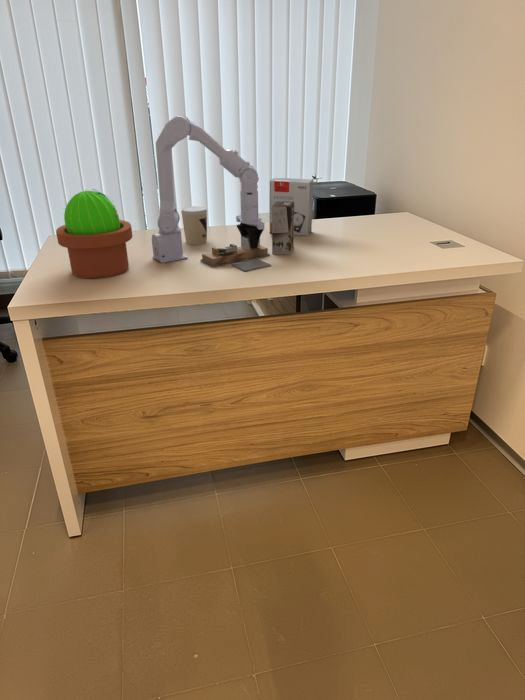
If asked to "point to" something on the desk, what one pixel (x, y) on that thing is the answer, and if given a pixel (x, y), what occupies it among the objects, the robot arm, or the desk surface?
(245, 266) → the mat
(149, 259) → the desk surface
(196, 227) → the coffee cup
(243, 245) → the brushed metal cube
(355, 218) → the desk surface
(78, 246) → the potted cactus
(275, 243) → the coffee box
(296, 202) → the hard drive box
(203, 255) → the body
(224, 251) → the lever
